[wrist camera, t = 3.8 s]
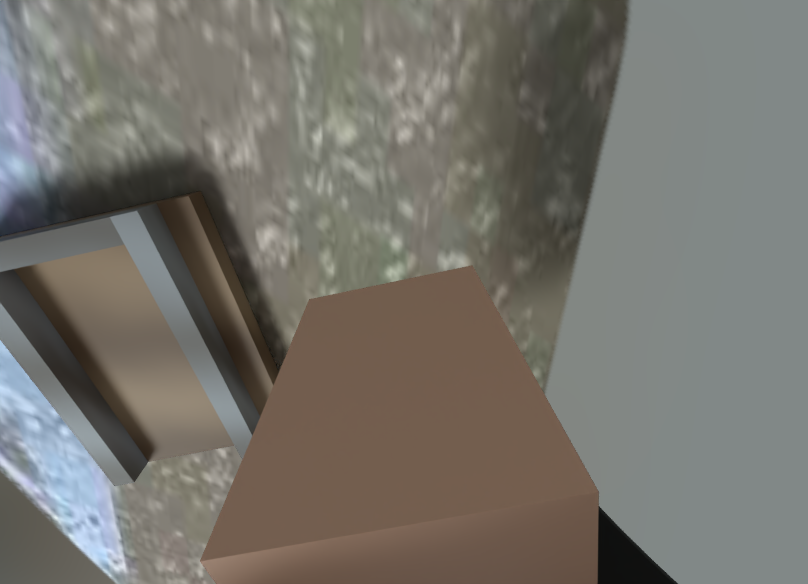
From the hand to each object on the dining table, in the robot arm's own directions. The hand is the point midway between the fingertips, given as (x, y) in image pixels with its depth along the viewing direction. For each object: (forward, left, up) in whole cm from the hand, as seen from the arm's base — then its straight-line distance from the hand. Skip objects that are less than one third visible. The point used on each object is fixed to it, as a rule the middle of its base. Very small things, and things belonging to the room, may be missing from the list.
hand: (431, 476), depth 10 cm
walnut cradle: (+1, +12, -9) cm, 15 cm away
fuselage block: (0, 0, -2) cm, 2 cm away
